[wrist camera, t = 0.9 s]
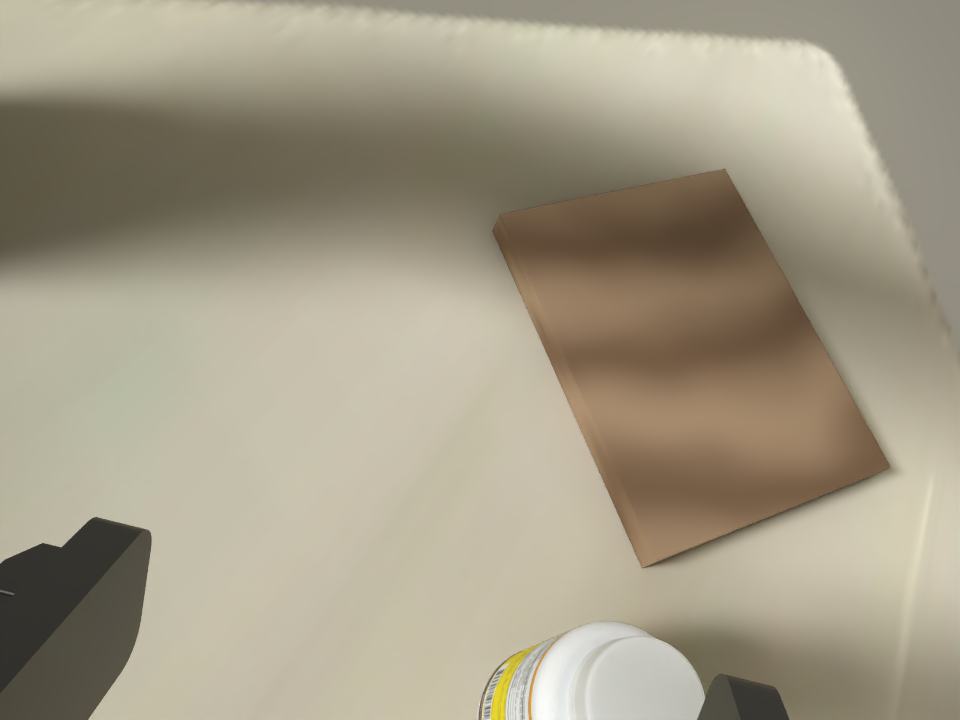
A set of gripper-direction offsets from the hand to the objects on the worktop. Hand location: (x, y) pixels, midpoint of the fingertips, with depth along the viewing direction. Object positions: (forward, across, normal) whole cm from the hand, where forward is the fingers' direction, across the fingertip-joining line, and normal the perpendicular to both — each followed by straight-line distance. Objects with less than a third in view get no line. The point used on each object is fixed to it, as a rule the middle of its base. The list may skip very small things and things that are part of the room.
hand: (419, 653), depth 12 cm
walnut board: (+33, -10, +3) cm, 34 cm away
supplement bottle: (+19, -6, +16) cm, 26 cm away
